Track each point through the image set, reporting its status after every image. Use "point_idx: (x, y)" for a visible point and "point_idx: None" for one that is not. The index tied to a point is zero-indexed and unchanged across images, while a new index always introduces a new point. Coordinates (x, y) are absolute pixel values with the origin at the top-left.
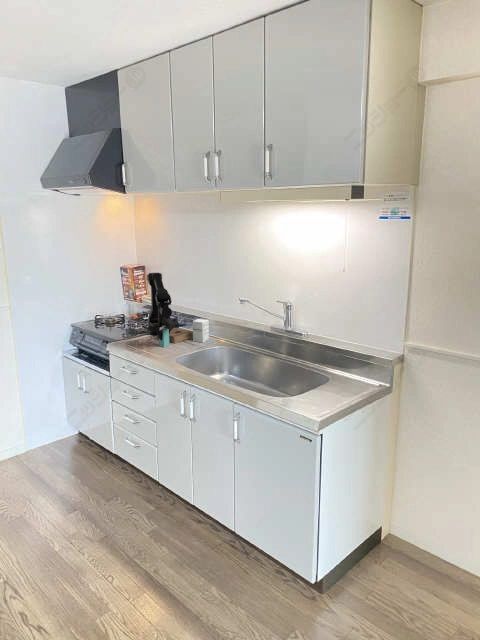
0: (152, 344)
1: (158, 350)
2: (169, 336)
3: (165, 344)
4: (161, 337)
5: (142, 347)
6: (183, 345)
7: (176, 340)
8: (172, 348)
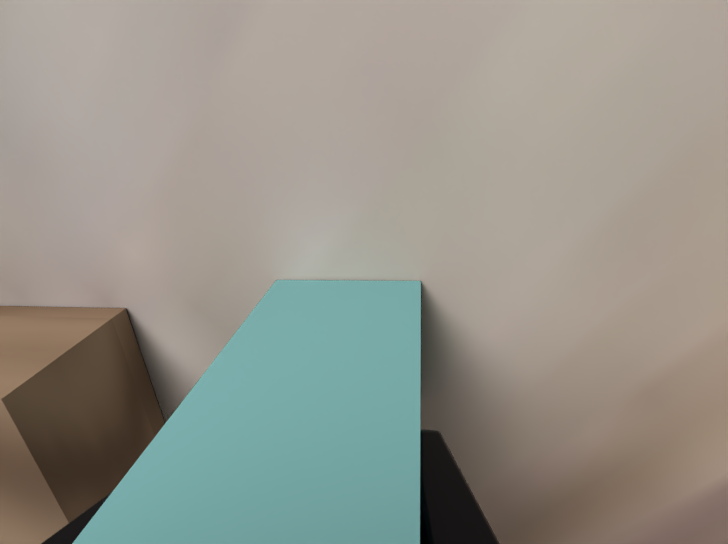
0: None
1: (716, 171)
2: None
3: (371, 305)
4: (469, 521)
5: (684, 528)
6: (12, 56)
7: (38, 335)
8: (352, 41)
